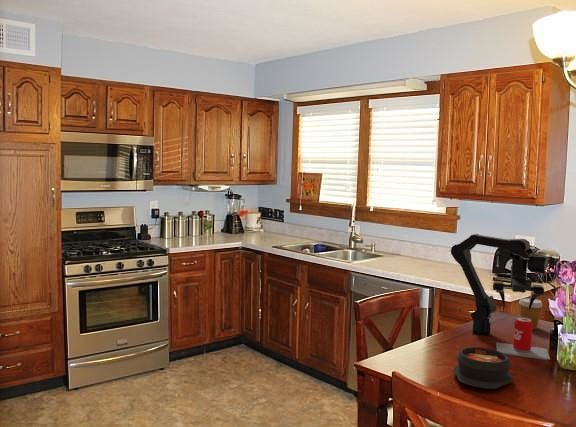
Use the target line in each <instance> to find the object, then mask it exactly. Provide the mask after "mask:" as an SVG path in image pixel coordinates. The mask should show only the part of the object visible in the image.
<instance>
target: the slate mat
mask: <svg viewBox="0 0 576 427" xmlns="http://www.w3.org/2000/svg"><path fill="white" fill-rule="evenodd" d="M495 345H496V351H499V352H501V353H504V354H505V355H506V356H514V357H522V358H530V359H535V360H542V361H543V360H544V361H551V357H550V354H549V352H548V349H547V348H544V347H537V346H531V350H530V351H528V352H520V351H517V350H515V349H514V348H513V343H512V344H511V343H504V342H496V344H495Z"/></svg>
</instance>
